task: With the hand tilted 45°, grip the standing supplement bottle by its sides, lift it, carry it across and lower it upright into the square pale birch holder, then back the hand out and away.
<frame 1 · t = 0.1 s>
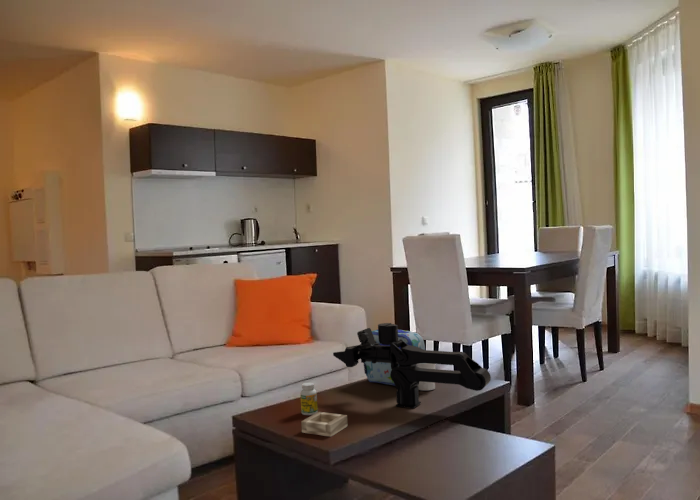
hand: (339, 351, 214), 17 cm above the table, tool horizontal, fingers open, 9 cm apart
white cup: (425, 388, 222), on the table, touching lunch box
holder: (324, 429, 182), on the table
supplement bottle: (309, 413, 199), on the table
lunch box: (394, 384, 231), on the table, touching white cup
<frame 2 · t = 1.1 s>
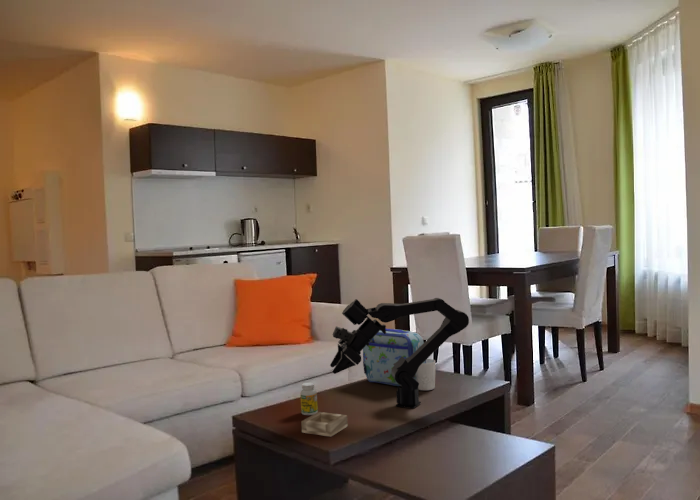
hand: (332, 369, 199), 14 cm above the table, tool tilted 45°, fingers open, 9 cm apart
nothing on the table moved.
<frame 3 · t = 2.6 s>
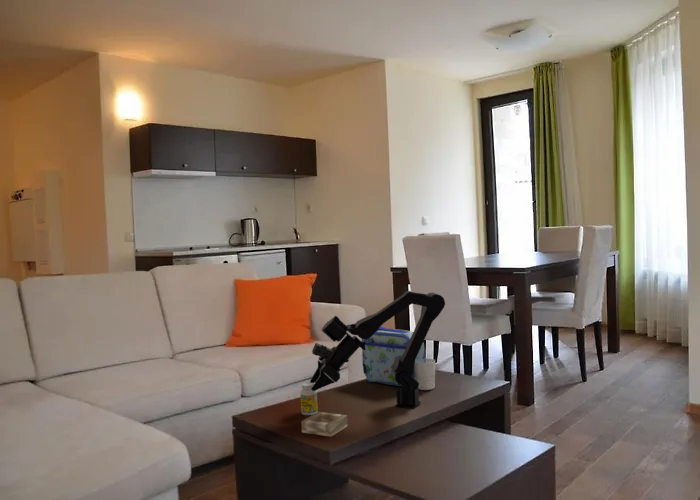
hand: (311, 386, 198), 9 cm above the table, tool tilted 45°, fingers open, 9 cm apart
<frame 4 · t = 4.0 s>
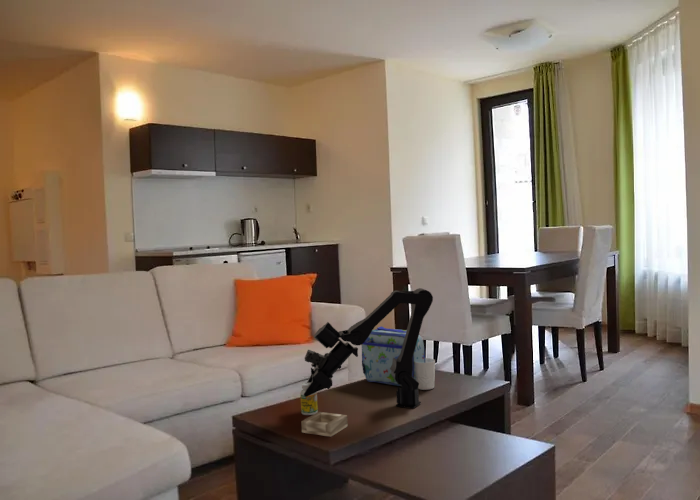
hand: (304, 393, 198), 7 cm above the table, tool tilted 45°, fingers closed on supplement bottle, 5 cm apart
supplement bottle: (309, 413, 199), on the table, touching gripper
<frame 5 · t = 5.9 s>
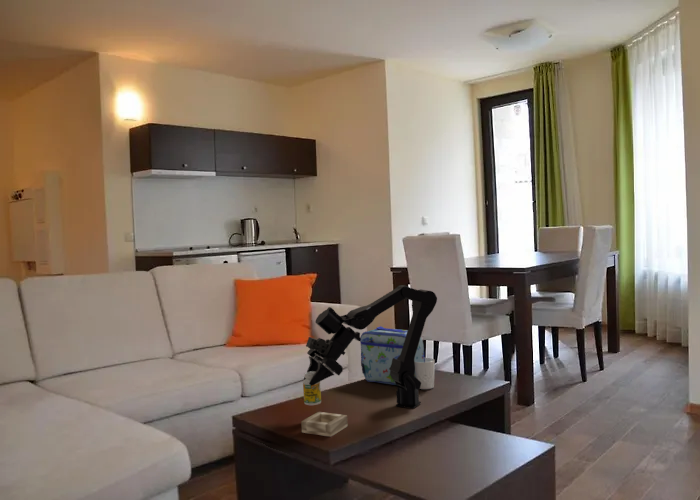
hand: (307, 382, 189), 12 cm above the table, tool tilted 45°, fingers closed on supplement bottle, 5 cm apart
supplement bottle: (312, 403, 190), point 5 cm above the table, touching gripper
when the fingers open (9 cm above the table, at t = 7.8 s): supplement bottle stays where it is, resting on holder.
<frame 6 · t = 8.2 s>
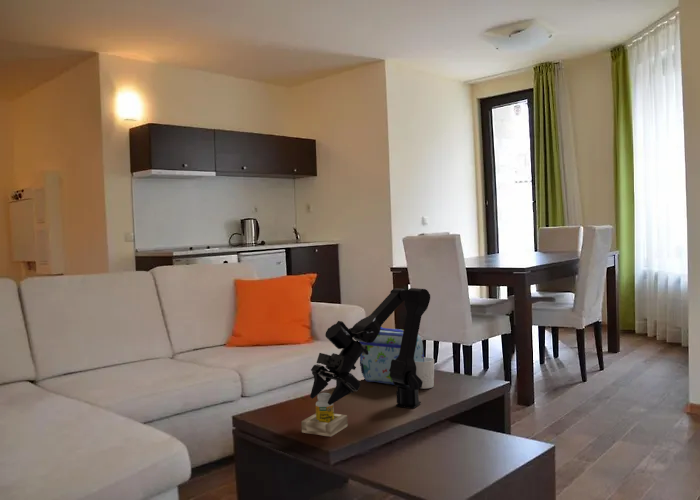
hand: (319, 400, 181), 9 cm above the table, tool tilted 45°, fingers open, 9 cm apart
supplement bottle: (325, 426, 182), point 1 cm above the table, touching holder
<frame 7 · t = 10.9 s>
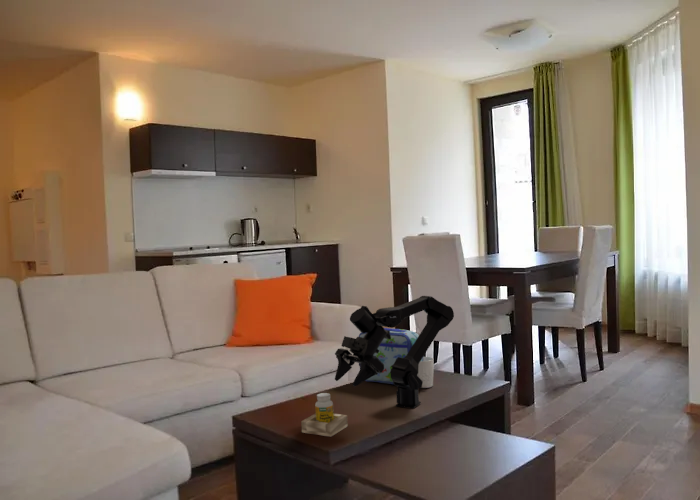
hand: (344, 382, 186), 12 cm above the table, tool tilted 45°, fingers open, 9 cm apart
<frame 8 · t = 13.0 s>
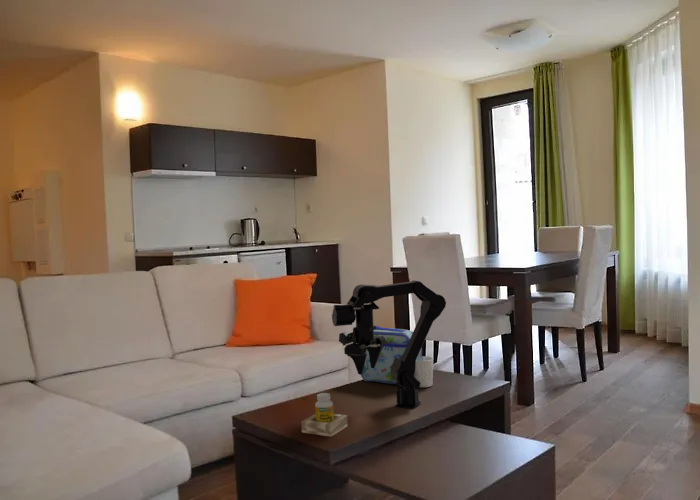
hand: (366, 371, 198), 13 cm above the table, tool pointing down, fingers open, 9 cm apart
at the end: supplement bottle 0.1 cm off-centre on the holder, point 0.6 cm above the holder's base; supplement bottle tilted 0°; the gripper is holding nothing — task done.
